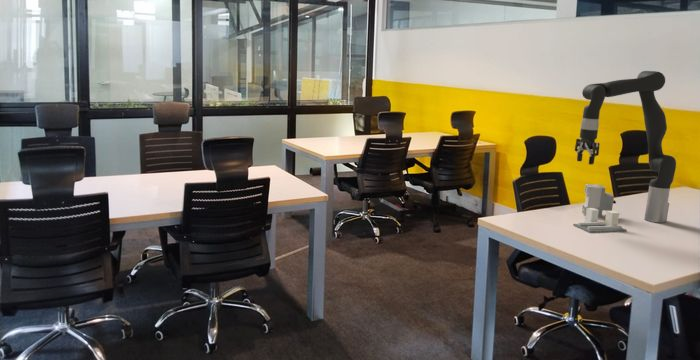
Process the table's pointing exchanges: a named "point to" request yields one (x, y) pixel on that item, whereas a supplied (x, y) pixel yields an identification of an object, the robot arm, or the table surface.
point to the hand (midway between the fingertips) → (585, 162)
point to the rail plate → (603, 224)
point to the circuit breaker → (597, 199)
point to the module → (591, 215)
